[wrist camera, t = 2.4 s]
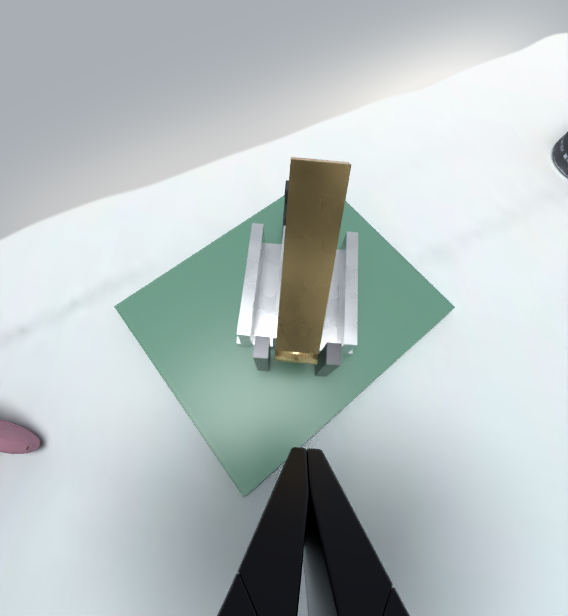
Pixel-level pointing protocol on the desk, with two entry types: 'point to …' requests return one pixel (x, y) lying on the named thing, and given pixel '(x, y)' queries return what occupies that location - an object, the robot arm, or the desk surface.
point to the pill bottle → (562, 154)
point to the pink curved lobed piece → (17, 439)
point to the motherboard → (282, 375)
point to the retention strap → (309, 255)
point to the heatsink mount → (266, 295)
